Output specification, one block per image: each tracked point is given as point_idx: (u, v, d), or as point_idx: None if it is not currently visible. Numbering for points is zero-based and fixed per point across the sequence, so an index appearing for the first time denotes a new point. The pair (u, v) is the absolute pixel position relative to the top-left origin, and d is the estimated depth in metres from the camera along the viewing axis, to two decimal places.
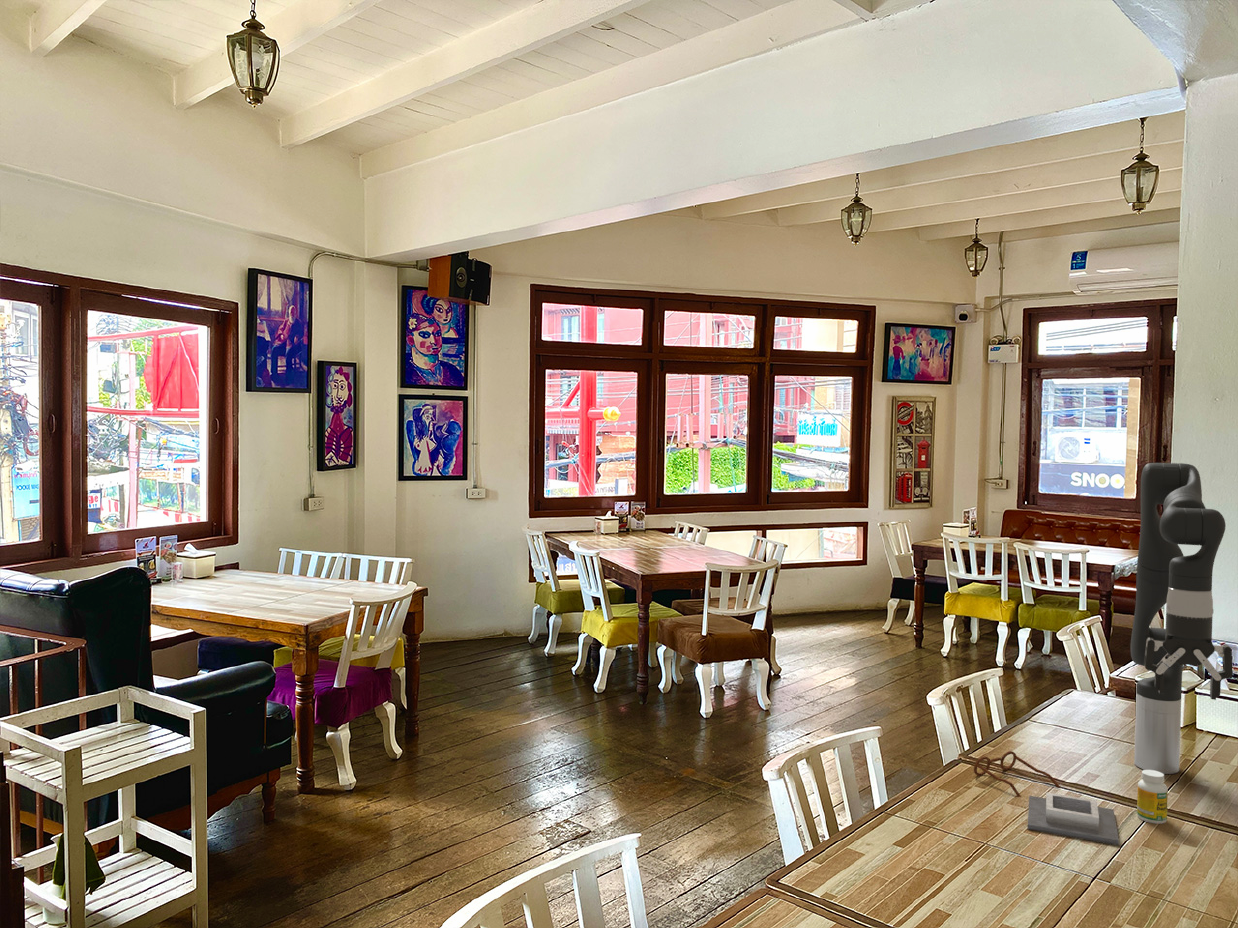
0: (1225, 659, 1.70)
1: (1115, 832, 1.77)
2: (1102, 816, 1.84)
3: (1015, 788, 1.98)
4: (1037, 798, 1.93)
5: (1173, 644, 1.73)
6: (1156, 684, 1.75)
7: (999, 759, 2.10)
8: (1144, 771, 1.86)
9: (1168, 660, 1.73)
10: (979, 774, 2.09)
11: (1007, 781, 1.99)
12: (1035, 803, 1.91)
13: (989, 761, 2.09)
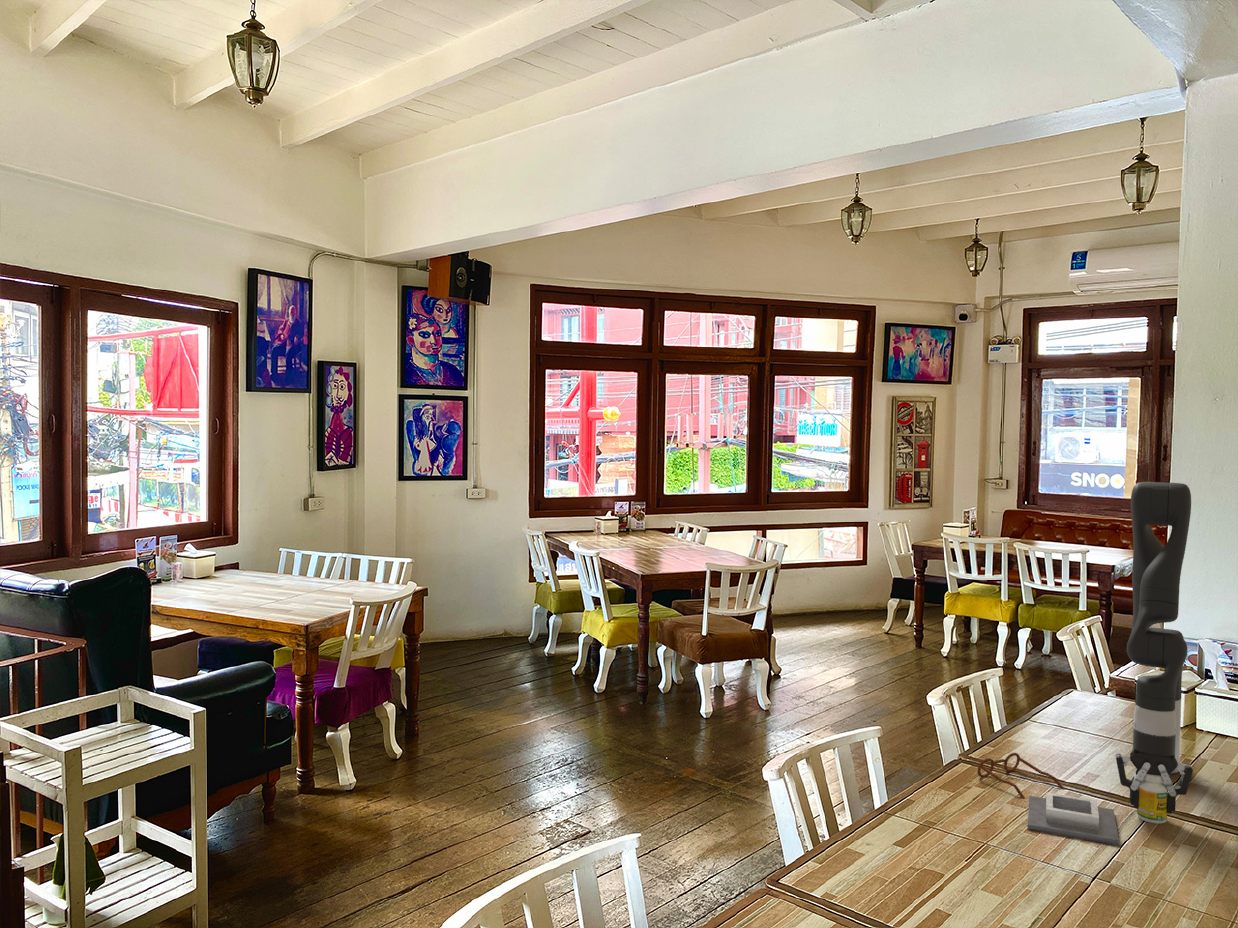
0: (1184, 777, 1.82)
1: (1115, 832, 1.77)
2: (1102, 816, 1.84)
3: (1019, 790, 1.97)
4: (1037, 798, 1.93)
5: (1139, 757, 1.86)
6: (1131, 799, 1.87)
7: (1003, 761, 2.09)
8: None
9: (1138, 776, 1.85)
10: (983, 776, 2.08)
11: (1011, 783, 1.98)
12: (1035, 803, 1.91)
13: (993, 763, 2.08)
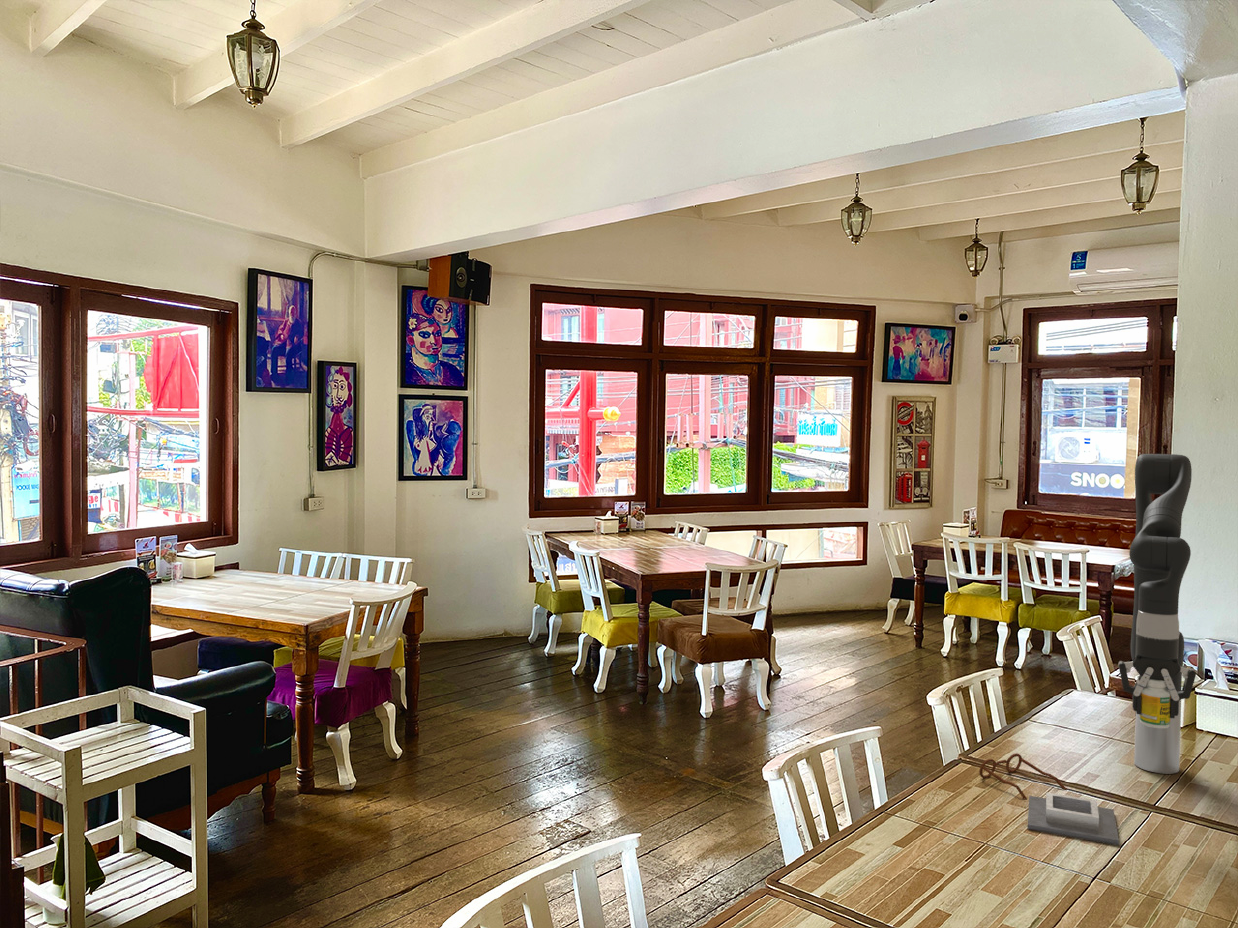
0: (1187, 681, 1.81)
1: (1115, 832, 1.77)
2: (1102, 816, 1.84)
3: (1021, 791, 1.96)
4: (1037, 798, 1.93)
5: (1142, 663, 1.85)
6: (1134, 705, 1.86)
7: (1005, 761, 2.09)
8: None
9: (1141, 681, 1.85)
10: (985, 777, 2.07)
11: (1013, 784, 1.98)
12: (1035, 803, 1.91)
13: (995, 763, 2.08)
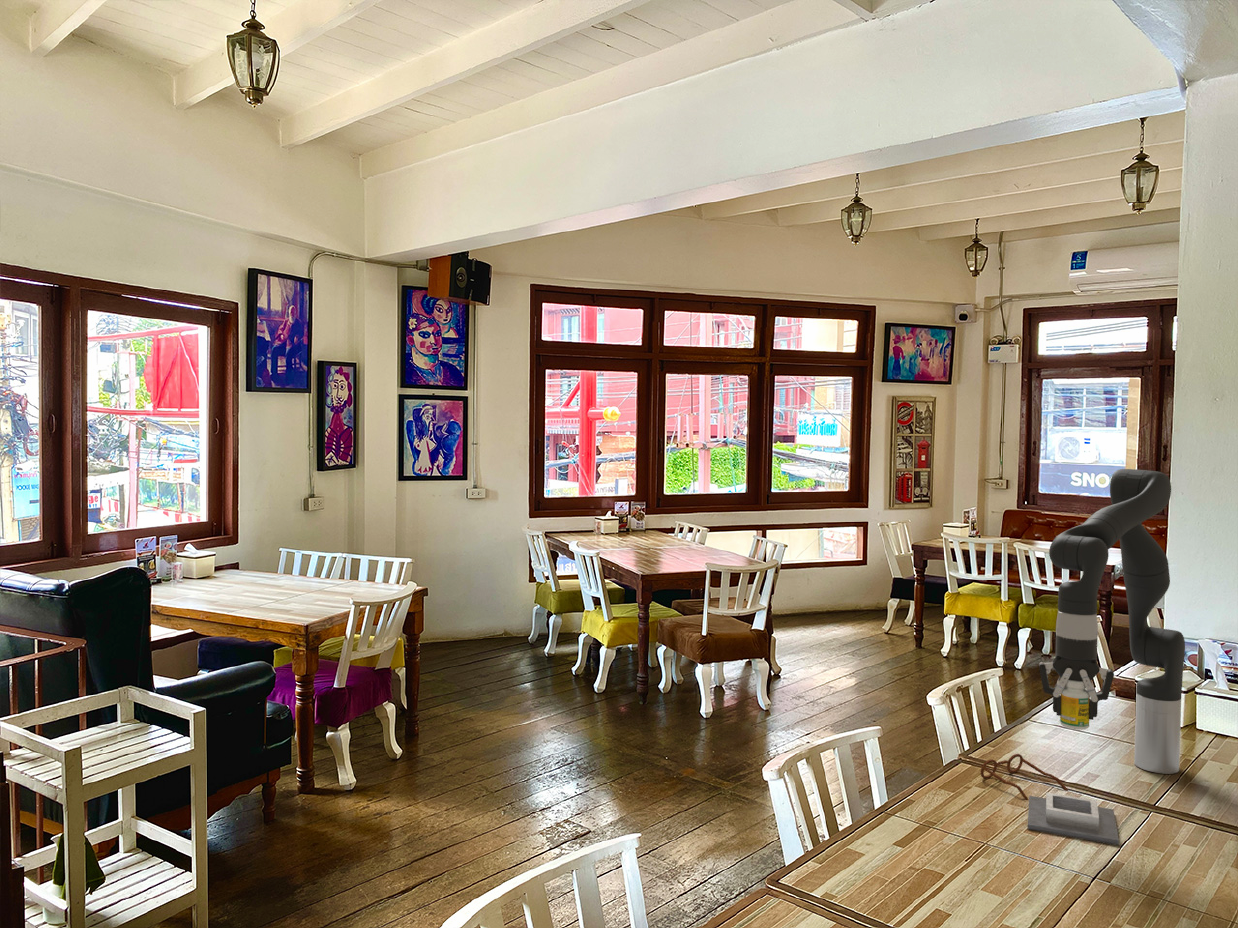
0: (1105, 682, 1.80)
1: (1115, 832, 1.77)
2: (1102, 816, 1.84)
3: None
4: (1037, 798, 1.93)
5: (1061, 664, 1.83)
6: (1053, 706, 1.84)
7: (1006, 762, 2.09)
8: None
9: (1060, 682, 1.83)
10: (986, 777, 2.07)
11: (1014, 784, 1.98)
12: (1035, 803, 1.91)
13: (996, 764, 2.07)
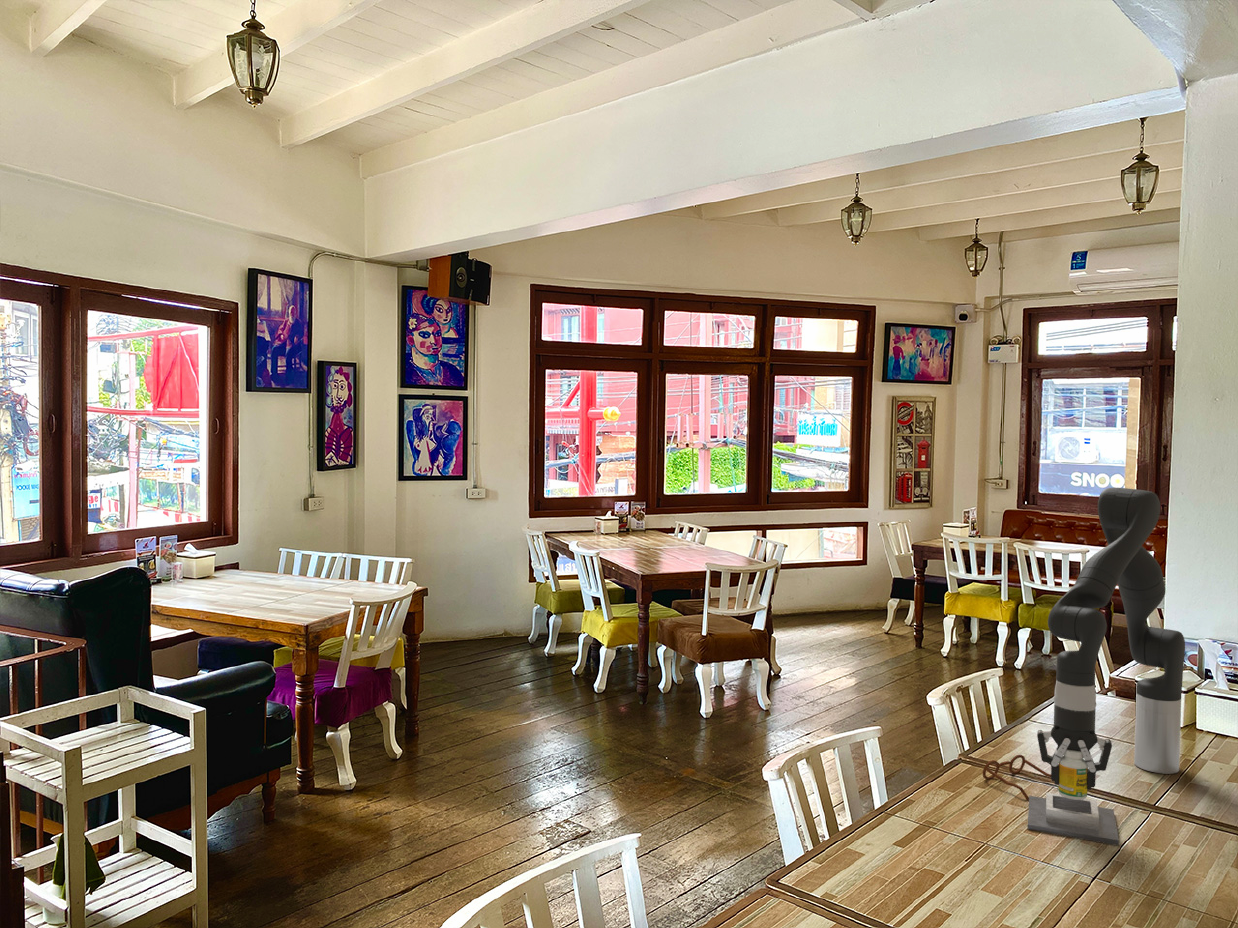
0: (1103, 753, 1.80)
1: (1115, 832, 1.77)
2: (1102, 816, 1.84)
3: None
4: (1037, 798, 1.93)
5: (1059, 733, 1.84)
6: (1052, 775, 1.85)
7: (1008, 763, 2.08)
8: None
9: (1058, 752, 1.83)
10: (988, 778, 2.06)
11: (1017, 785, 1.97)
12: (1035, 803, 1.91)
13: (998, 765, 2.07)
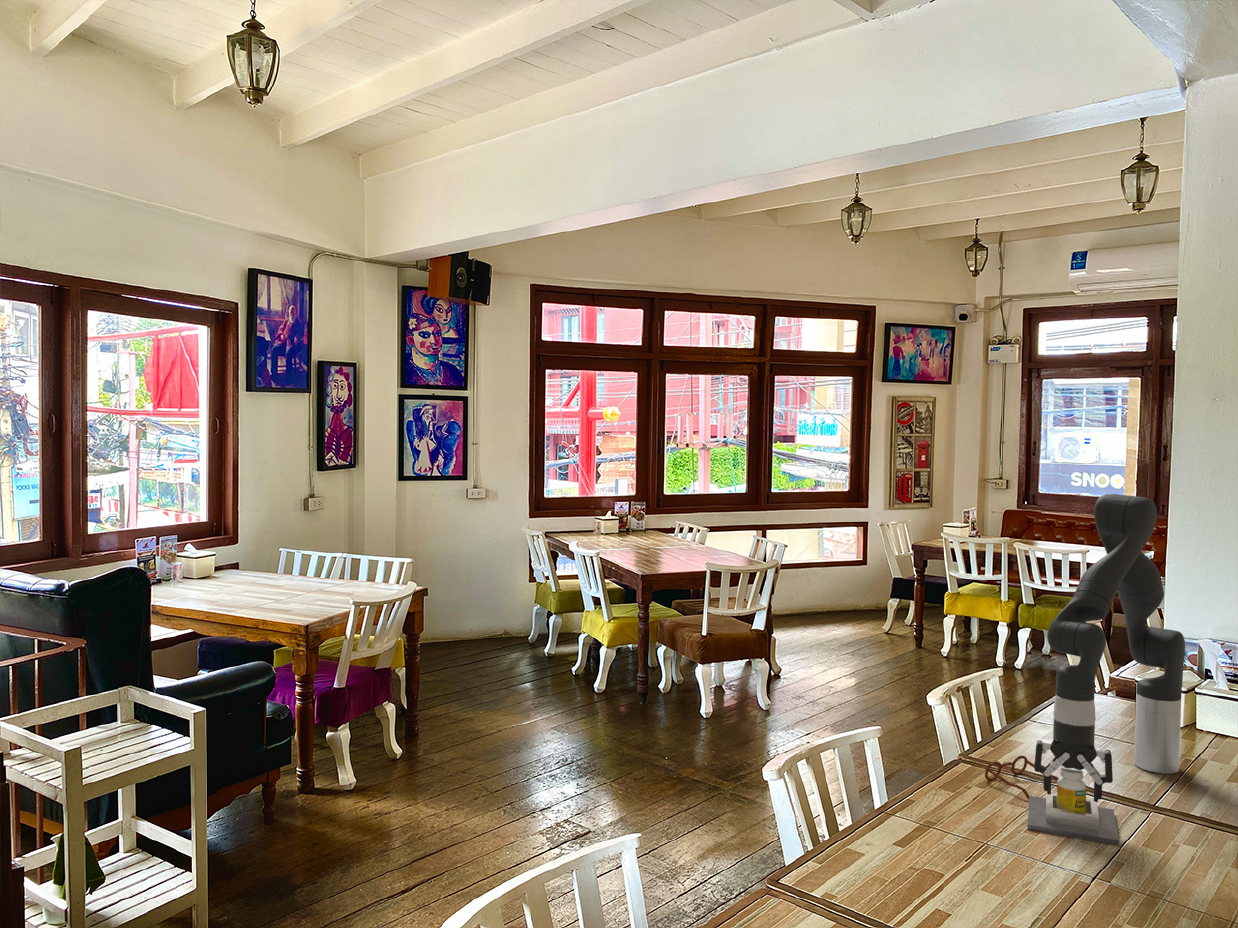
0: (1106, 764, 1.80)
1: (1115, 832, 1.77)
2: (1102, 816, 1.84)
3: (1027, 793, 1.95)
4: (1037, 798, 1.93)
5: (1059, 748, 1.84)
6: (1044, 785, 1.86)
7: (1010, 764, 2.08)
8: (1063, 768, 1.85)
9: (1054, 763, 1.84)
10: (990, 779, 2.06)
11: (1019, 786, 1.97)
12: (1035, 803, 1.91)
13: (1000, 766, 2.06)
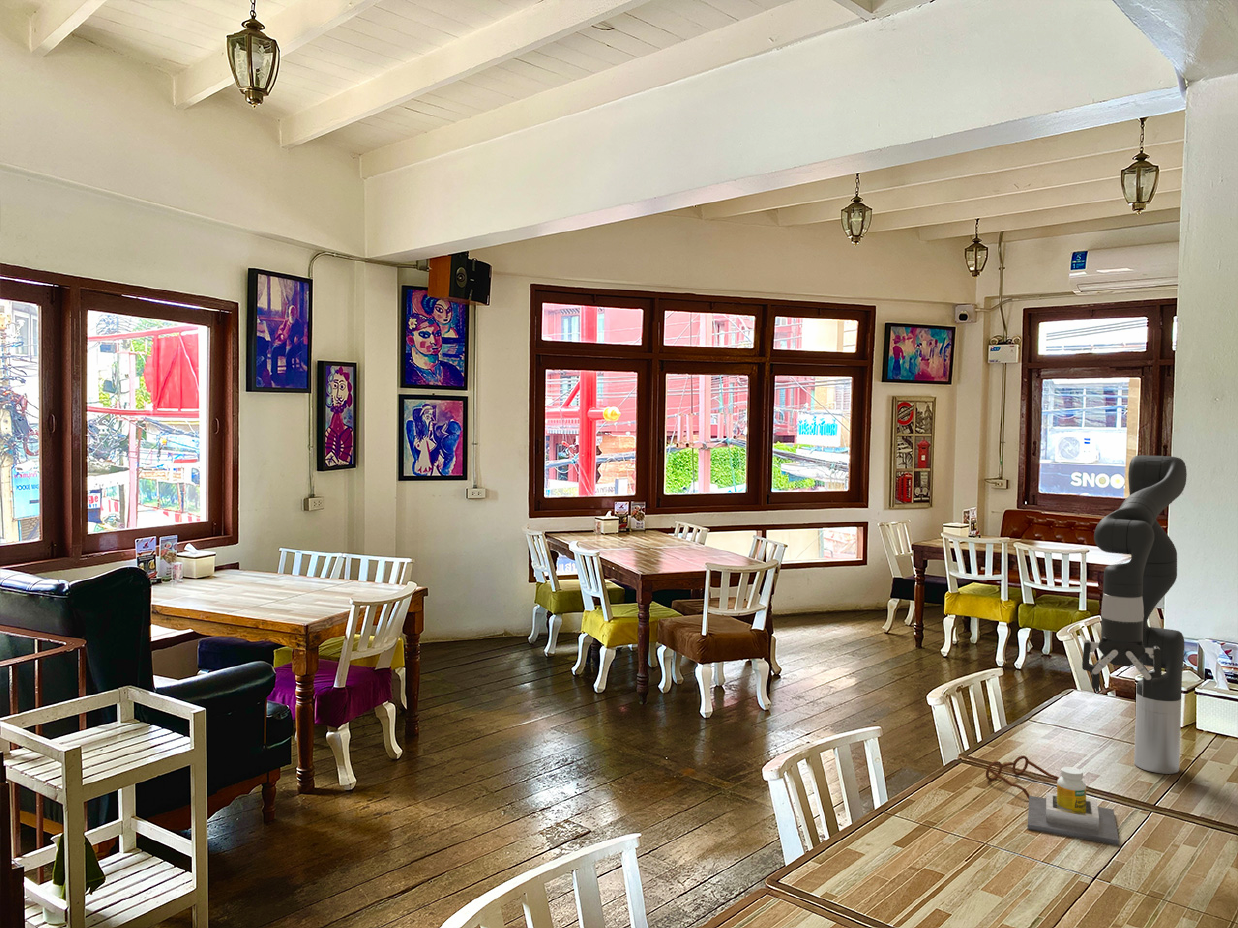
0: (1155, 660, 1.82)
1: (1115, 832, 1.77)
2: (1102, 816, 1.84)
3: None
4: (1037, 798, 1.93)
5: (1107, 646, 1.86)
6: (1092, 683, 1.88)
7: (1011, 764, 2.08)
8: (1063, 768, 1.85)
9: (1103, 661, 1.86)
10: (991, 779, 2.06)
11: (1020, 786, 1.97)
12: (1035, 803, 1.91)
13: (1001, 766, 2.06)
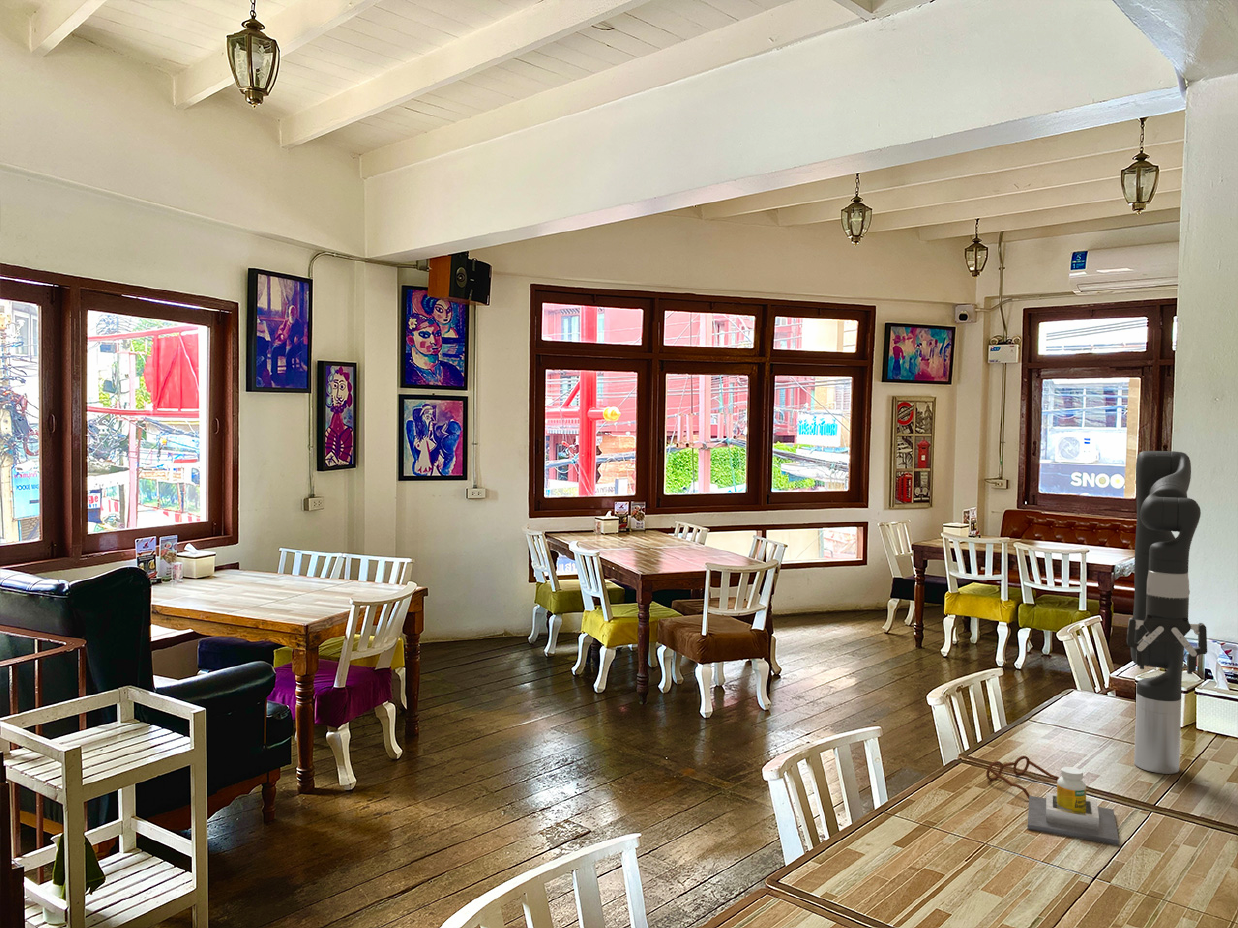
0: (1200, 636, 1.84)
1: (1115, 832, 1.77)
2: (1102, 816, 1.84)
3: (1028, 793, 1.95)
4: (1037, 798, 1.93)
5: (1153, 623, 1.87)
6: (1137, 660, 1.89)
7: (1012, 764, 2.08)
8: (1063, 768, 1.85)
9: (1148, 638, 1.87)
10: (992, 779, 2.06)
11: (1020, 786, 1.97)
12: (1035, 803, 1.91)
13: (1002, 766, 2.06)
